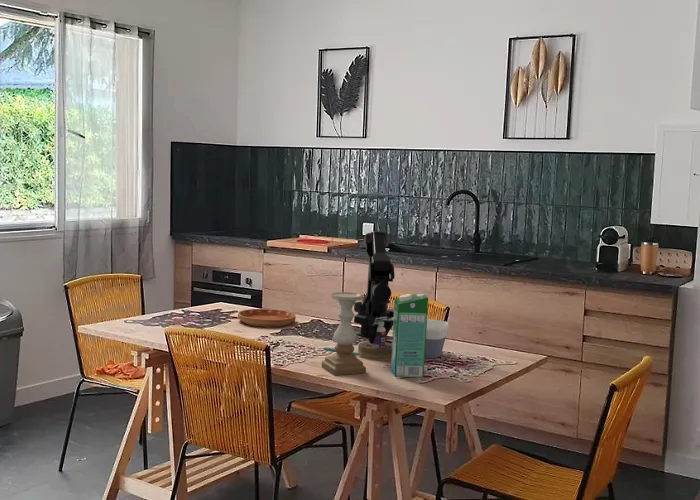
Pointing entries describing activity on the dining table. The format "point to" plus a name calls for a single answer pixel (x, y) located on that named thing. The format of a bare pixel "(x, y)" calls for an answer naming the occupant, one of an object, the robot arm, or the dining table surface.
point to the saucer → (266, 317)
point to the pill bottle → (379, 335)
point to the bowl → (435, 337)
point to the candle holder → (344, 339)
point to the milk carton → (409, 335)
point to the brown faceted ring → (375, 351)
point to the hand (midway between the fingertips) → (376, 341)
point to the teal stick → (335, 351)
